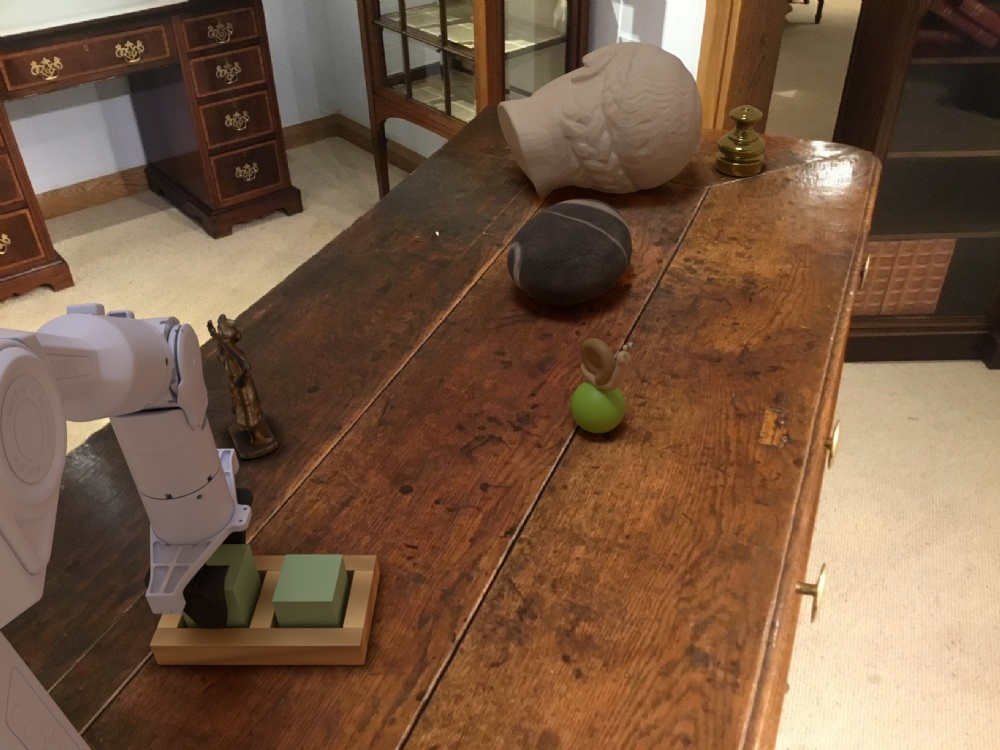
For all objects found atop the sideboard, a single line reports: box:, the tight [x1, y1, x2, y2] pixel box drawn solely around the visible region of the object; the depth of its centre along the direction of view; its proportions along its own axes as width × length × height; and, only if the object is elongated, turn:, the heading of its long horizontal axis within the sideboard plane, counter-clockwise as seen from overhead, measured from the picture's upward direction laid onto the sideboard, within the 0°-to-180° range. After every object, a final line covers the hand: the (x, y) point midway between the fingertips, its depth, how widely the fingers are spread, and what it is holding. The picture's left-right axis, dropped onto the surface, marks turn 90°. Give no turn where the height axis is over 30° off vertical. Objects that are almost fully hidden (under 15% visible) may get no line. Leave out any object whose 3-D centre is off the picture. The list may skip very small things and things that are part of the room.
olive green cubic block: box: [182, 543, 262, 628], centre depth 67 cm, size 5×5×5 cm
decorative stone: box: [506, 198, 633, 307], centre depth 106 cm, size 19×14×10 cm
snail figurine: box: [570, 337, 634, 434], centre depth 82 cm, size 5×6×12 cm
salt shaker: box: [714, 104, 767, 178], centre depth 133 cm, size 7×7×10 cm
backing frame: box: [149, 554, 381, 666], centre depth 68 cm, size 9×16×2 cm, turn 89°
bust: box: [496, 41, 704, 199], centre depth 127 cm, size 21×24×30 cm
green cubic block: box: [272, 553, 350, 628], centre depth 67 cm, size 5×5×5 cm
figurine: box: [206, 313, 279, 460], centre depth 81 cm, size 7×4×15 cm, turn 28°
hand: (222, 596), depth 67 cm, fingers closed on olive green cubic block, 5 cm apart
